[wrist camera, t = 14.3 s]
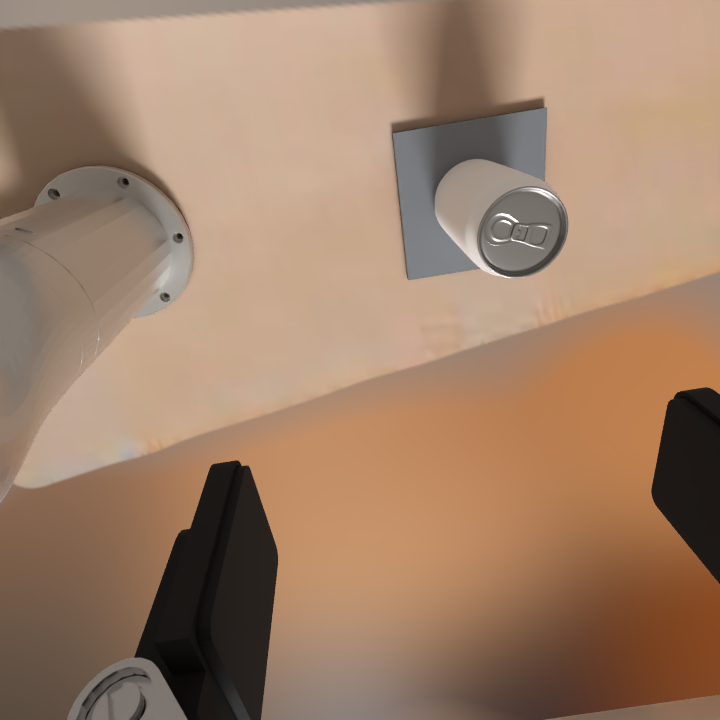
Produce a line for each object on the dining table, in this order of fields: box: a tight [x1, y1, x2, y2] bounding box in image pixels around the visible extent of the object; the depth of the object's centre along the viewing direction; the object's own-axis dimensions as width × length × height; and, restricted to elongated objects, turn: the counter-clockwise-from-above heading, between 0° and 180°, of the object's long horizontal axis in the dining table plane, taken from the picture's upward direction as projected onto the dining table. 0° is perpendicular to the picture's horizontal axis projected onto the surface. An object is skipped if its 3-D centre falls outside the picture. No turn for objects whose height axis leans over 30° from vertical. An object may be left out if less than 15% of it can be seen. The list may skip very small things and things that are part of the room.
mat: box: [392, 108, 547, 280], centre depth 40 cm, size 12×12×1 cm
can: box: [435, 159, 568, 278], centre depth 35 cm, size 6×6×12 cm
